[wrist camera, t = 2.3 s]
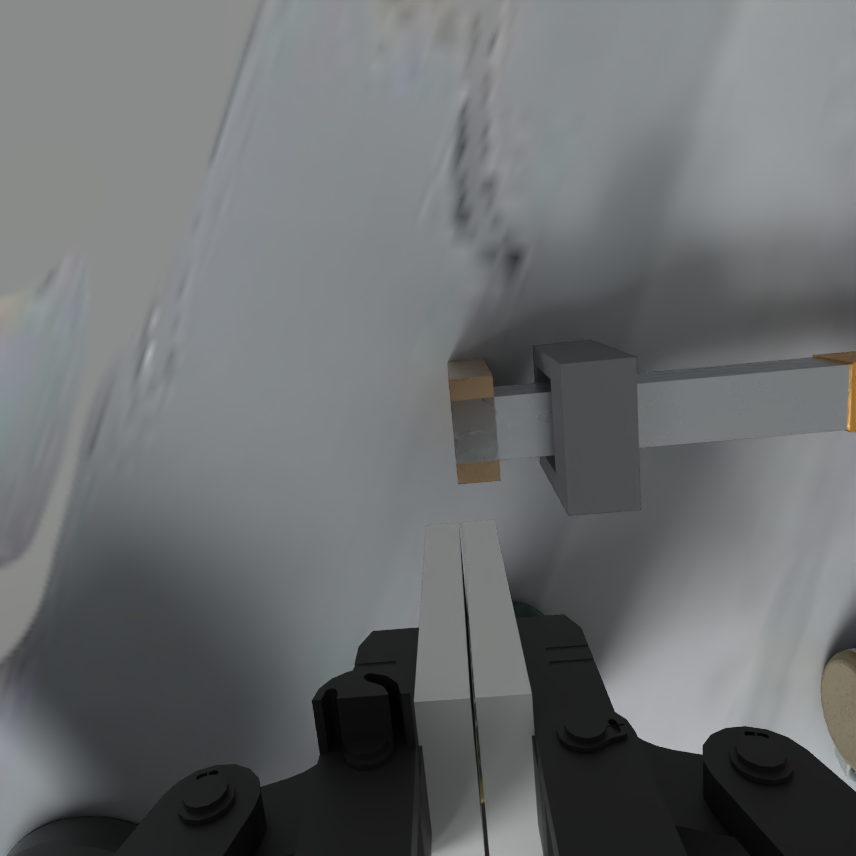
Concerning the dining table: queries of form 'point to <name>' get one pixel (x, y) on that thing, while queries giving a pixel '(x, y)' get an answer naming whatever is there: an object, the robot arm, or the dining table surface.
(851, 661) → the ceramic mug
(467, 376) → the grey long bar
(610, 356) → the grey notched bracket
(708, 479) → the dining table surface
